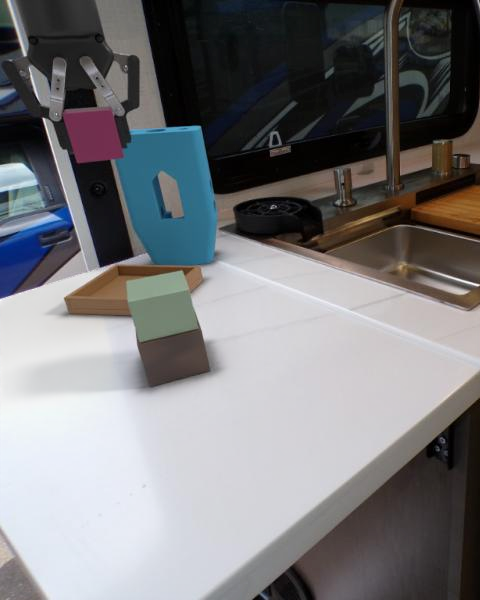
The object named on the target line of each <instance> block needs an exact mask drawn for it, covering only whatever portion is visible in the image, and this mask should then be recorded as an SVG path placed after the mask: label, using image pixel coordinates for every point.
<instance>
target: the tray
mask: <svg viewBox="0 0 480 600" xmlns="http://www.w3.org/2000/svg"><path fill="white" fill-rule="evenodd" d="M181 270H182V271H183V273H184V276H185V279H186V281H187V284H188V287H189V290H190V293H191V292H193V291H194V290H195V289H196V288H197V287H198V286H199V285H200V284H201V283H202V282H203V281H204V276H203V272H202V266H201V265H189V266H176V265H154V264H127V263H125V264H121V263H120V264H119V263H117V264H114V265H113V266H111V267H109V268H108V269H106V270H105V271H103V272H101V273H100V274H98V275H96V277H93V278H92V279H90V280H89V281H87V282H86V283H84V284H83V285H81V286H80V287H78V288H76V289H75V290H74V291H72V292H70V293H69V294H67V295H65V296H64V297H63V301H64V303H65V306H66V309H67V312H68V314H73V315H74V314H77V315H104V316H105V315H106V316H131V317H132V315H131V312H130V309H129V305H128V300H127V289H126V281H130V280H135V279H140V278H145V277H150V276H155V275H161V274H166V273H171V272H176V271H181Z"/></svg>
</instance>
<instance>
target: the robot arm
mask: <svg viewBox="0 0 480 600" xmlns="http://www.w3.org/2000/svg"><path fill="white" fill-rule="evenodd" d="M14 1H15V5H16V7H17V10H18V15H19V17H20V22H21V24H22V28H23V30H24V34H25V36H26V39H27V45H28V46H27V52H26V55H25V56H21V57H17V58H14V59H5V60H2V62H1V69H2V70H3V72H4V74H5V75H6V77H7V78H8V80H9V82H10V83H11V85H12V87H13V88H14V90H15V92H16V93H17V95H18V96H19V98H20V100H21V101H22V103H23V105H24V106H25V108H26V109H27V112H28V113H29V114H30V115H31V116H32V117H34V118H42V119H46V120H48V121H50V122H51V123H52V125H53V129H54V132H55V136H56V139H57V141H58V144H59V147H60V148H61V149H62V150H63V151H65V150H67V152H68V155H75V154H74V151H73V148H72V145H71V141H70V138H69V135H68V131H67V128H66V125H65V122H64V118H63V115H62V114H63V112H64V111H65V99H66V92H67V91H69V92H71V91H77V90H79V89H85V90H98V92H99V93H100V95H101V96H102V98H103V99H104V101H105V102H106V103H107V106H110V108H111V109H112V111H113V115H114V120H115V124H116V128H117V132H118V135H119V139H120V143H121V147H122V149H125V148H128V147H127V143H131V139H132V138H131V134H130V130H131V129H130V126H129V122H128V119H127V118H128V117H127V115H128V113H130V112H132V111H134V110H137V109H139V107H140V105H141V104H140V99H141V98H140V96H141V95H140V93H141V92H140V90H141V87H140V82H141V80H140V79H141V74H140V73H141V72H140V71H141V66H140V65H141V61H140V58H139V57H138V55H136V54H124V53H119V52H114V51H113V50H112V48H111V47H110V46H109V44H108V42H107V40H106V37H105V32H104V29H103V24H102V21H101V17H100V13H99V10H98V5H97V2H96V0H14ZM114 62H115V63H117V64H118V66H119V69H120V71H121V72H122V73H123V74H125V75H127V76H126V77H127V78H126V79H127V85H126V86H127V98H126V99H124V100H122V101H120V100H119V98H118V96H117V95H116V94H115V92H114V90H113V89H112V87H111V86H110V84H109V83H108V82H107V80H106V78H107V76H108V74H109V72H110V70H111V68H112V65H113V63H114ZM31 66H33V67H34V68H35V69H36V70H37V71H38V72H39V73H41V74H42V75H43V76H44V77H45V78H46V79H47V80H49V81H50V83H51V85H50V95H49V96H50V97H49V98H50V101H49V106H47V105H43V104H42V103H41V102H40V100H39V98H38V97H37V95H36V93H35V92H34V90H33V88H32V86H31V84H30V83H29V81H28V79H29V78H30V77H31V71H30V68H31Z"/></svg>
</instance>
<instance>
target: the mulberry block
mask: <svg viewBox="0 0 480 600" xmlns="http://www.w3.org/2000/svg"><path fill="white" fill-rule="evenodd" d="M62 115H63V118H64V122H65V125H66V128H67V131H68V135H69V138H70V141H71V145H72V148H73V151H74V154H73V155H74V158H75V161H76V163H77V164H84V163H85V164H86V163H92V162H93V163H94V162H100V161H101V162H103V161H109V160H110V161H111V160H114V159H121V158H124V154H123V149H122V147H121V143H120V139H119V135H118V132H117V128H116V124H115V120H114V112H113V111H112V109H111V108H110V106H109V105H107V106H106V105H105V106H95V107H94V106H93V107H80V108H67V109H65V108H64V111H63V114H62Z"/></svg>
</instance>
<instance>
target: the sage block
mask: <svg viewBox="0 0 480 600" xmlns="http://www.w3.org/2000/svg"><path fill="white" fill-rule="evenodd" d="M126 289H127V300H128V305H129V309H130V312H131V315H132V316H131V315H130V316H131V319H132V322H133V326H134V328H135V329H136V331H135V333H136V332H137V336H138V339H139V342H140V343H141V342H145V341H150V340H154V339H158V338H162V337H166V336H171V335H175V334H179V333H183V332H187V331H192V330H196V329H198V325H197V320H196V316H195V312H196V311H195V312H194V309H195V306H194V304H193V300H192V295H191V292H190V290H189V287H188V284H187V281H186V279H185V276H184V273H183V271H182V270H181V271H176V272H171V273H166V274H161V275H155V276H150V277H145V278H140V279H135V280H130V281H126ZM135 329H134V330H135Z"/></svg>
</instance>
